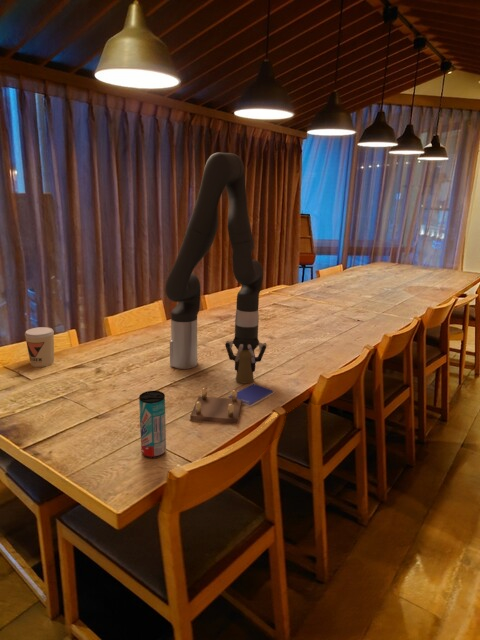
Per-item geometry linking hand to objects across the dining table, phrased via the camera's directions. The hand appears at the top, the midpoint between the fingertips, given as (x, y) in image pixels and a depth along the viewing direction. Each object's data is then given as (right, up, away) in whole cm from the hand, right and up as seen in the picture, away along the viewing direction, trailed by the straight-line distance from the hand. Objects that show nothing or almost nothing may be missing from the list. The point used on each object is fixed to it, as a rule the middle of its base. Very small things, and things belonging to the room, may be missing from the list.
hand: (244, 371), depth 150 cm
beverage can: (-23, -15, -40) cm, 49 cm away
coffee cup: (-72, +2, +11) cm, 73 cm away
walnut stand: (-8, -9, -20) cm, 24 cm away
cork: (0, -3, +1) cm, 3 cm away
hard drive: (+2, -7, -9) cm, 12 cm away
